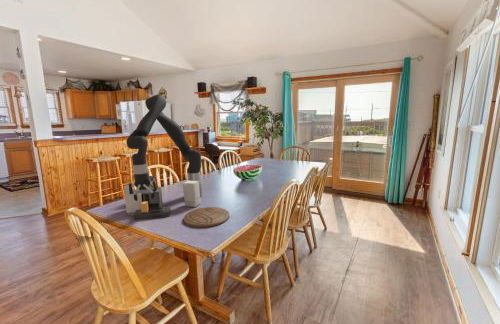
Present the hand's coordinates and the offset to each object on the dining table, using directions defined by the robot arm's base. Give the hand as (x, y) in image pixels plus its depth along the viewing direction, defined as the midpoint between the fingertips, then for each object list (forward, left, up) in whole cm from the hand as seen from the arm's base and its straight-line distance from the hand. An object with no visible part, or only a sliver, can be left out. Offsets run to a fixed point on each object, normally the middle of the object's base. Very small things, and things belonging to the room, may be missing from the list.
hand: (144, 199), depth 142 cm
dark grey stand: (+2, -12, -10) cm, 16 cm away
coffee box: (+3, -31, -11) cm, 33 cm away
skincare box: (-26, -11, -11) cm, 30 cm away
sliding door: (+8, -7, -9) cm, 14 cm away
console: (-4, 0, -10) cm, 11 cm away
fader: (0, 0, -7) cm, 7 cm away
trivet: (-34, +12, -11) cm, 37 cm away
